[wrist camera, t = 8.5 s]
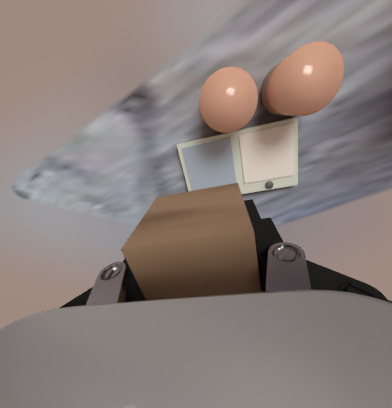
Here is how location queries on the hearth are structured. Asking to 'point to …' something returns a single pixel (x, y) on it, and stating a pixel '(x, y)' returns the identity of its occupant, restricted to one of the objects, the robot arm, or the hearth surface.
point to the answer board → (244, 158)
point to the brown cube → (195, 246)
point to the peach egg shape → (304, 80)
